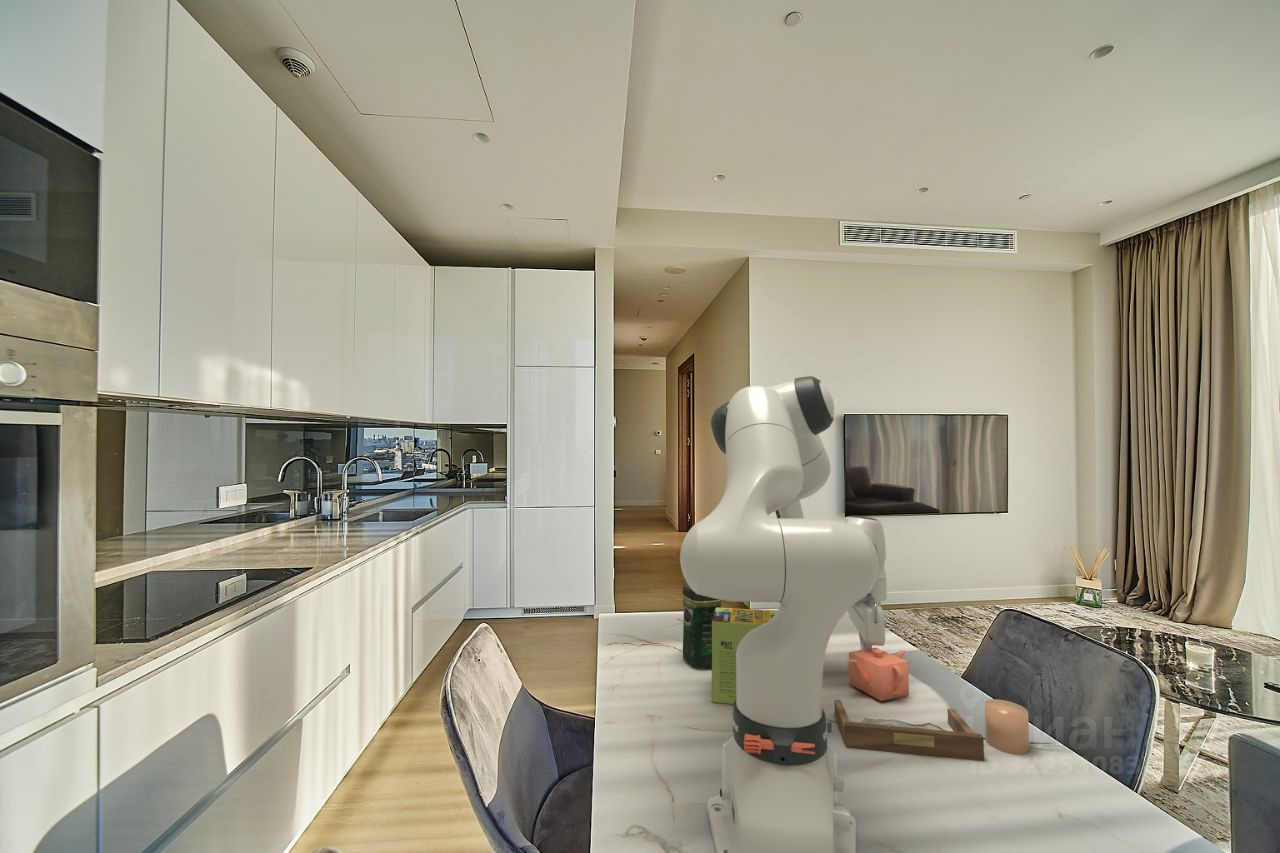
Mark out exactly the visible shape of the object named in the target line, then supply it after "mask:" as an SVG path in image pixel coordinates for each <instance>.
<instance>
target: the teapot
mask: <svg viewBox="0 0 1280 853" xmlns="http://www.w3.org/2000/svg"><path fill="white" fill-rule="evenodd" d="M906 652H907V650H898V651H897V652H896V654H895V655H893V654H892V653H889V652H888V651H887V652H886V651H885V650H882V649H879V648H877V647H872V648H870V649H864V650H861V649H859V650H855V651H854V650H853V651H849V652H848V660H847V661H848V669H849V670H848V672H849V673H848V674H849V675H848V676H849V678H848V679H849V680H848V681H849V685H851V686H853V687H854V688H856V689H858V690H859V691H862V692H864V693H866V694H867V695H869V696H871V697H873V698H874V699H876V700H879V701H881V702H885V701H889V700H892V699H897V698H901V697H906V696H909V695H910V688H909V687H910V682H909V681H910V680H909V661H908V660H905V659H904V658H903V656H904V655H905V653H906Z"/></svg>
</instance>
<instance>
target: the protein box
mask: <svg viewBox="0 0 1280 853" xmlns="http://www.w3.org/2000/svg"><path fill="white" fill-rule="evenodd" d="M777 611H778V610H771V609H769V610H768V609H755V608H734V607H721V608H715V613H714V617H713V619H712V668H711V702H712V703H718V704H719V703H720V704H727V705H733V704H734V701H735V700H736V651H737V647H738V645H739V643H740V641H741V640H742V638H743V637H744V636H745V635H746V634H747V633H748V632H750V631H751V630H753V629H754V628H756V627H758V626H760V625H762V624H764V623H766V622H768V621H769V620H770V619H772V618H773V616H774V615H775V614H776V613H777Z"/></svg>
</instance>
